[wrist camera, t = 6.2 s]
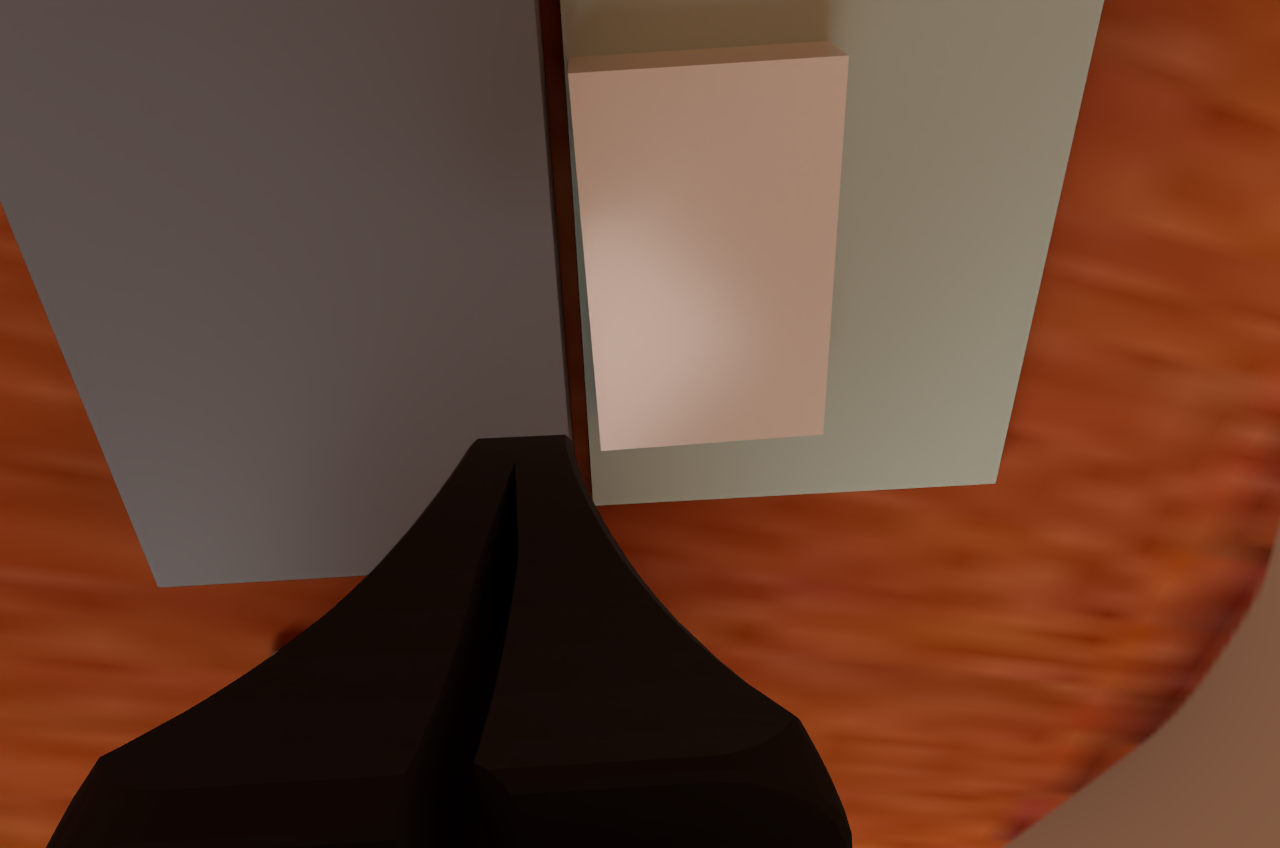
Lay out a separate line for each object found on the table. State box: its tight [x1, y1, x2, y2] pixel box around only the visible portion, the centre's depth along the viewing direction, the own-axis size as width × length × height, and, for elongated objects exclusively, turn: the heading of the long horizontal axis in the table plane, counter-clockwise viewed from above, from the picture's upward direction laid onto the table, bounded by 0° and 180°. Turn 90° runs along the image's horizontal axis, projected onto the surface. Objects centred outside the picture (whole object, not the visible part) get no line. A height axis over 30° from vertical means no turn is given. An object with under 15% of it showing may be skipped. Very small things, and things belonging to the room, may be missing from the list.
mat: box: [560, 0, 1104, 506], centre depth 20 cm, size 13×10×1 cm
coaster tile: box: [568, 41, 849, 451], centre depth 19 cm, size 8×5×2 cm, turn 3°
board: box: [0, 0, 573, 587], centre depth 19 cm, size 14×10×2 cm
